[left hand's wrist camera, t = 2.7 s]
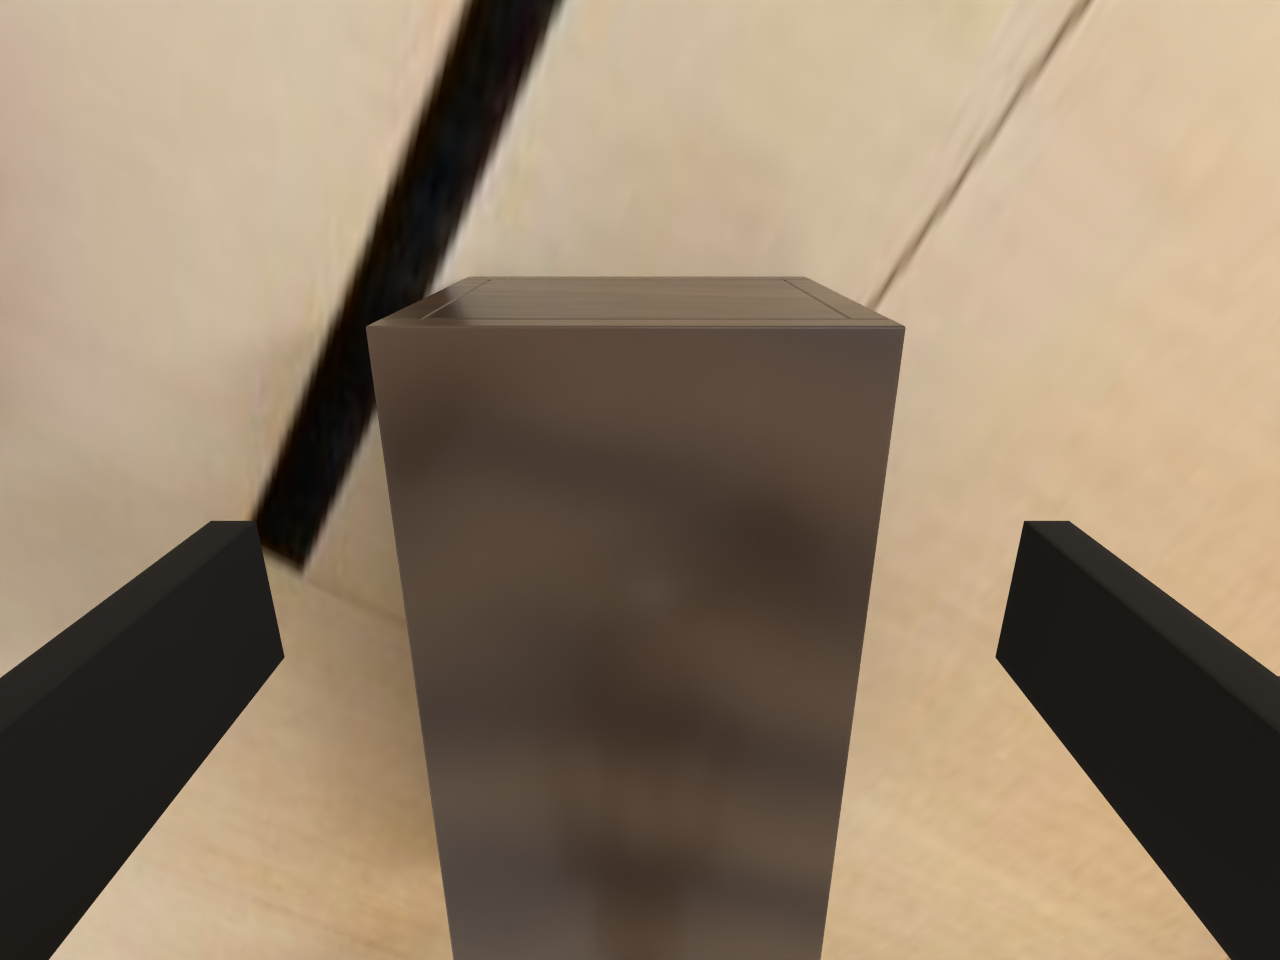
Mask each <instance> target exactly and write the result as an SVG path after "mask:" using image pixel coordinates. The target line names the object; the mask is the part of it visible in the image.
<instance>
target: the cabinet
mask: <svg viewBox="0 0 1280 960" xmlns="http://www.w3.org/2000/svg"><path fill="white" fill-rule="evenodd" d="M366 332H367V339H368V346H369V353H370V360H371V368H372V375H373V382H374V389H375V397H376V404H377V411H378V418H379V425H380V433H381V440H382V447H383V454H384V461H385V469H386V476H387V483H388V490H389V497H390V505H391V512H392V519H393V526H394V534H395V541H396V548H397V555H398V562H399V570H400V577H401V584H402V591H403V598H404V606H405V613H406V620H407V627H408V634H409V642H410V649H411V656H412V663H413V670H414V678H415V685H416V692H417V699H418V707H419V714H420V721H421V728H422V735H423V743H424V750H425V757H426V764H427V771H428V779H429V786H430V793H431V800H432V807H433V815H434V822H435V829H436V836H437V844H438V851H439V858H440V865H441V872H442V880H443V887H444V894H445V901H446V908H447V916H448V923H449V930H450V937H451V944H452V952H453V959H454V960H820V959H821V951H822V944H823V937H824V929H825V922H826V914H827V907H828V899H829V892H830V885H831V877H832V870H833V862H834V855H835V847H836V840H837V833H838V825H839V818H840V810H841V803H842V795H843V788H844V781H845V773H846V766H847V758H848V751H849V743H850V736H851V729H852V721H853V714H854V706H855V699H856V691H857V684H858V676H859V669H860V662H861V654H862V647H863V639H864V632H865V624H866V617H867V610H868V602H869V595H870V587H871V580H872V572H873V565H874V558H875V550H876V543H877V535H878V528H879V520H880V513H881V506H882V498H883V491H884V483H885V476H886V468H887V461H888V454H889V446H890V439H891V431H892V424H893V416H894V409H895V402H896V394H897V387H898V379H899V372H900V364H901V357H902V350H903V342H904V335H905V326H903V325H901V324H899V323H897V322H895V321H893V320H891V319H888V318H886V317H884V316H882V315H880V314H878V313H876V312H874V311H872V310H870V309H868V308H866V307H864V306H862V305H860V304H858V303H856V302H854V301H852V300H850V299H848V298H846V297H844V296H842V295H840V294H838V293H836V292H834V291H832V290H830V289H828V288H826V287H824V286H822V285H820V284H818V283H816V282H814V281H812V280H811V279H809V278H806V277H468V278H466V279H464V280H462V281H460V282H458V283H455V284H453V285H451V286H449V287H447V288H445V289H443V290H441V291H439V292H437V293H435V294H433V295H431V296H429V297H426V298H424V299H422V300H420V301H418V302H416V303H414V304H412V305H410V306H408V307H406V308H404V309H402V310H400V311H397V312H395V313H393V314H391V315H389V316H387V317H385V318H383V319H381V320H379V321H377V322H374V323H372V324H370V325H368V326H366Z"/></svg>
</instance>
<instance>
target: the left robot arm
mask: <svg viewBox="0 0 1280 960" xmlns="http://www.w3.org/2000/svg"><path fill="white" fill-rule="evenodd" d="M283 659H284V652H283V648H282V643H281V638H280V633H279V629H278V624H277V619H276V614H275V610H274V605H273V600H272V595H271V591H270V586H269V581H268V576H267V572H266V567H265V562H264V557H263V553H262V548H261V543H260V538H259V534H258V529H257V524H256V521H210V522H209V523H208V524H206V525H205V526H204V527H202V528H201V529H200V530H198V531H197V532H196V533H194V534H193V535H192V536H190V537H189V538H187V539H186V540H185V541H183V542H182V543H181V544H179V545H178V546H177V547H175V548H174V549H173V550H171V551H170V552H169V553H167V554H166V555H165V556H163V557H162V558H161V559H159V560H158V561H157V562H155V563H154V564H153V565H151V566H150V567H149V568H147V569H146V570H145V571H143V572H142V573H141V574H139V575H138V576H137V577H135V578H134V579H132V580H131V581H130V582H128V583H127V584H126V585H124V586H123V587H122V588H120V589H119V590H118V591H116V592H115V593H114V594H112V595H111V596H110V597H108V598H107V599H106V600H104V601H103V602H102V603H100V604H99V605H98V606H96V607H95V608H94V609H92V610H91V611H90V612H88V613H87V614H86V615H84V616H83V617H82V618H80V619H79V620H77V621H76V622H75V623H73V624H72V625H71V626H69V627H68V628H67V629H65V630H64V631H63V632H61V633H60V634H59V635H57V636H56V637H55V638H53V639H52V640H51V641H49V642H48V643H47V644H45V645H44V646H43V647H41V648H40V649H39V650H37V651H36V652H35V653H33V654H32V655H31V656H29V657H28V658H27V659H25V660H24V661H22V662H21V663H20V664H18V665H17V666H16V667H14V668H13V669H12V670H10V671H9V672H8V673H6V674H5V675H4V676H2V677H1V678H0V960H49V959H50V957H51V956H52V955H53V954H54V952H55V951H56V950H57V948H58V947H59V946H60V945H61V943H62V942H63V941H64V939H65V938H66V937H67V936H68V934H69V933H70V932H71V930H72V929H73V928H74V927H75V925H76V924H77V923H78V922H79V920H80V919H81V918H82V916H83V915H84V914H85V913H86V911H87V910H88V909H89V907H90V906H91V905H92V904H93V902H94V901H95V900H96V898H97V897H98V896H99V895H100V893H101V892H102V891H103V889H104V888H105V887H106V886H107V884H108V883H109V882H110V880H111V879H112V878H113V877H114V875H115V874H116V873H117V871H118V870H119V869H120V868H121V866H122V865H123V864H124V862H125V861H126V860H127V859H128V857H129V856H130V855H131V854H132V852H133V851H134V850H135V848H136V847H137V846H138V845H139V843H140V842H141V841H142V839H143V838H144V837H145V836H146V834H147V833H148V832H149V830H150V829H151V828H152V827H153V825H154V824H155V823H156V821H157V820H158V819H159V818H160V816H161V815H162V814H163V812H164V811H165V810H166V809H167V807H168V806H169V805H170V803H171V802H172V801H173V800H174V798H175V797H176V796H177V795H178V793H179V792H180V791H181V789H182V788H183V787H184V786H185V784H186V783H187V782H188V780H189V779H190V778H191V777H192V775H193V774H194V773H195V771H196V770H197V769H198V768H199V766H200V765H201V764H202V762H203V761H204V760H205V759H206V757H207V756H208V755H209V753H210V752H211V751H212V750H213V748H214V747H215V746H216V744H217V743H218V742H219V741H220V739H221V738H222V737H223V735H224V734H225V733H226V732H227V730H228V729H229V728H230V727H231V725H232V724H233V723H234V721H235V720H236V719H237V718H238V716H239V715H240V714H241V712H242V711H243V710H244V709H245V707H246V706H247V705H248V703H249V702H250V701H251V700H252V698H253V697H254V696H255V694H256V693H257V692H258V691H259V689H260V688H261V687H262V685H263V684H264V683H265V682H266V680H267V679H268V678H269V676H270V675H271V674H272V673H273V671H274V670H275V669H276V667H277V666H278V665H279V664H280V662H281V661H282V660H283ZM996 659H997V660H998V661H999V662H1000V664H1001V665H1002V666H1003V668H1004V669H1005V670H1006V671H1007V673H1008V674H1009V675H1010V676H1011V678H1012V679H1013V680H1014V682H1015V683H1016V684H1017V685H1018V687H1019V688H1020V689H1021V691H1022V692H1023V693H1024V694H1025V696H1026V697H1027V698H1028V700H1029V701H1030V702H1031V703H1032V705H1033V706H1034V707H1035V709H1036V710H1037V711H1038V712H1039V714H1040V715H1041V716H1042V718H1043V719H1044V720H1045V721H1046V723H1047V724H1048V725H1049V727H1050V728H1051V729H1052V730H1053V732H1054V733H1055V734H1056V735H1057V737H1058V738H1059V739H1060V741H1061V742H1062V743H1063V744H1064V746H1065V747H1066V748H1067V750H1068V751H1069V752H1070V753H1071V755H1072V756H1073V757H1074V759H1075V760H1076V761H1077V762H1078V764H1079V765H1080V766H1081V768H1082V769H1083V770H1084V771H1085V773H1086V774H1087V775H1088V777H1089V778H1090V779H1091V780H1092V782H1093V783H1094V784H1095V786H1096V787H1097V788H1098V789H1099V791H1100V792H1101V793H1102V795H1103V796H1104V797H1105V798H1106V800H1107V801H1108V802H1109V803H1110V805H1111V806H1112V807H1113V809H1114V810H1115V811H1116V812H1117V814H1118V815H1119V816H1120V818H1121V819H1122V820H1123V821H1124V823H1125V824H1126V825H1127V827H1128V828H1129V829H1130V830H1131V832H1132V833H1133V834H1134V836H1135V837H1136V838H1137V839H1138V841H1139V842H1140V843H1141V845H1142V846H1143V847H1144V848H1145V850H1146V851H1147V852H1148V854H1149V855H1150V856H1151V857H1152V859H1153V860H1154V861H1155V862H1156V864H1157V865H1158V866H1159V868H1160V869H1161V870H1162V871H1163V873H1164V874H1165V875H1166V877H1167V878H1168V879H1169V880H1170V882H1171V883H1172V884H1173V886H1174V887H1175V888H1176V889H1177V891H1178V892H1179V893H1180V895H1181V896H1182V897H1183V898H1184V900H1185V901H1186V902H1187V904H1188V905H1189V906H1190V907H1191V909H1192V910H1193V911H1194V913H1195V914H1196V915H1197V916H1198V918H1199V919H1200V920H1201V922H1202V923H1203V924H1204V925H1205V927H1206V928H1207V929H1208V930H1209V932H1210V933H1211V934H1212V936H1213V937H1214V938H1215V939H1216V941H1217V942H1218V943H1219V945H1220V946H1221V947H1222V948H1223V950H1224V951H1225V952H1226V954H1227V955H1228V956H1229V957H1230V959H1231V960H1280V676H1276V675H1275V674H1274V673H1272V672H1271V671H1270V670H1268V669H1267V668H1266V667H1264V666H1263V665H1262V664H1260V663H1259V662H1258V661H1256V660H1255V659H1253V658H1252V657H1251V656H1249V655H1248V654H1247V653H1245V652H1244V651H1243V650H1241V649H1240V648H1239V647H1237V646H1236V645H1235V644H1233V643H1232V642H1231V641H1229V640H1228V639H1227V638H1225V637H1224V636H1223V635H1221V634H1220V633H1219V632H1217V631H1216V630H1215V629H1213V628H1212V627H1211V626H1209V625H1208V624H1207V623H1205V622H1204V621H1203V620H1201V619H1200V618H1198V617H1197V616H1196V615H1194V614H1193V613H1192V612H1190V611H1189V610H1188V609H1186V608H1185V607H1184V606H1182V605H1181V604H1180V603H1178V602H1177V601H1176V600H1174V599H1173V598H1172V597H1170V596H1169V595H1168V594H1166V593H1165V592H1164V591H1162V590H1161V589H1160V588H1158V587H1157V586H1156V585H1154V584H1153V583H1152V582H1150V581H1149V580H1148V579H1146V578H1145V577H1143V576H1142V575H1141V574H1139V573H1138V572H1137V571H1135V570H1134V569H1133V568H1131V567H1130V566H1129V565H1127V564H1126V563H1125V562H1123V561H1122V560H1121V559H1119V558H1118V557H1117V556H1115V555H1114V554H1113V553H1111V552H1110V551H1109V550H1107V549H1106V548H1105V547H1103V546H1102V545H1101V544H1099V543H1098V542H1097V541H1095V540H1094V539H1093V538H1091V537H1090V536H1088V535H1087V534H1086V533H1084V532H1083V531H1082V530H1080V529H1079V528H1078V527H1076V526H1075V525H1074V524H1072V523H1071V522H1070V521H1024V524H1023V529H1022V534H1021V538H1020V543H1019V548H1018V553H1017V557H1016V562H1015V567H1014V572H1013V576H1012V581H1011V586H1010V591H1009V595H1008V600H1007V605H1006V610H1005V614H1004V619H1003V624H1002V629H1001V633H1000V638H999V643H998V648H997V652H996Z"/></svg>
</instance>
